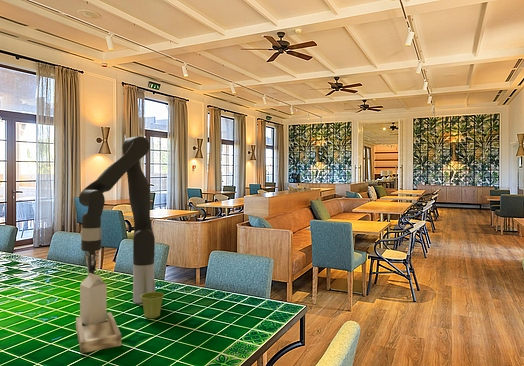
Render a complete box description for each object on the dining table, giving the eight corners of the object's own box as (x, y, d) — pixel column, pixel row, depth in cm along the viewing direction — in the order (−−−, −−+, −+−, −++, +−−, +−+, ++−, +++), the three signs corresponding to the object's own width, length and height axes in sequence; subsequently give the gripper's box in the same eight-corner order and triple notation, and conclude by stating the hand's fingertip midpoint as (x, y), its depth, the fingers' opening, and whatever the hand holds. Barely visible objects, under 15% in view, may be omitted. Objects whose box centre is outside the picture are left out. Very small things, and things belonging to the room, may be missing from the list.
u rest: (111, 320, 154) (111, 312, 154) (121, 345, 132) (121, 335, 132) (75, 326, 148) (75, 317, 148) (80, 353, 126) (80, 342, 126)
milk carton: (89, 327, 148) (89, 277, 147) (79, 322, 152) (80, 274, 151) (106, 321, 153) (106, 273, 153) (96, 317, 158) (97, 270, 157)
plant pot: (139, 313, 162) (139, 292, 162) (162, 310, 166) (162, 290, 166) (140, 321, 154) (141, 299, 154) (165, 318, 157) (165, 297, 157)
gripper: (103, 240, 154) (103, 283, 155) (99, 235, 166) (99, 275, 166) (82, 241, 151) (82, 285, 151) (80, 236, 162) (80, 277, 163)
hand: (91, 280), depth 159 cm, fingers closed
